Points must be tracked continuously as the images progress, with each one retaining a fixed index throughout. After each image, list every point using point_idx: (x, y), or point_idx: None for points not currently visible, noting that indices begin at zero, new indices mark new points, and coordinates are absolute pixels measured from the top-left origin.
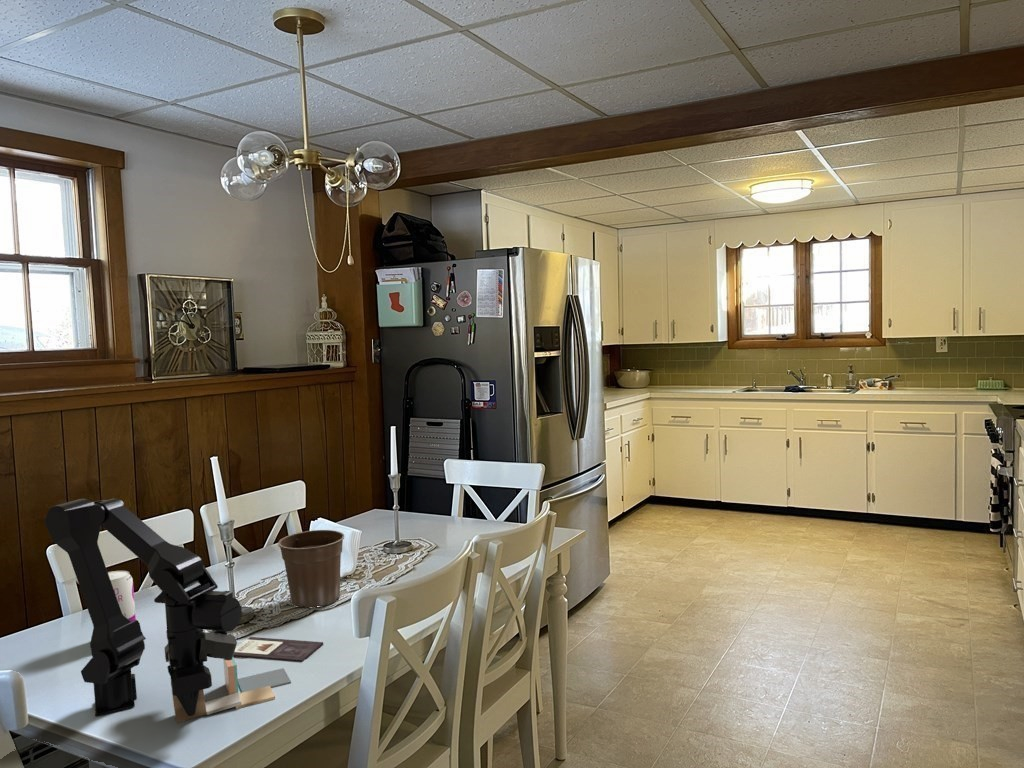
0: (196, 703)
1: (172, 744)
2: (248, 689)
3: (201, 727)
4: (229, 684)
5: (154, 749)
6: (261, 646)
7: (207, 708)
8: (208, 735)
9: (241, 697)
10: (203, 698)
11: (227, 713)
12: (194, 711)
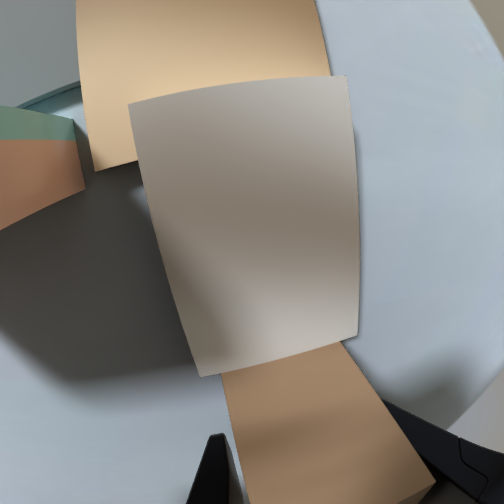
0: (428, 423)
1: (464, 381)
2: (35, 48)
3: (430, 319)
4: (34, 205)
5: (452, 416)
6: None
7: (311, 340)
8: (493, 273)
9: (184, 75)
10: (384, 412)
11: (358, 190)
12: (384, 401)
